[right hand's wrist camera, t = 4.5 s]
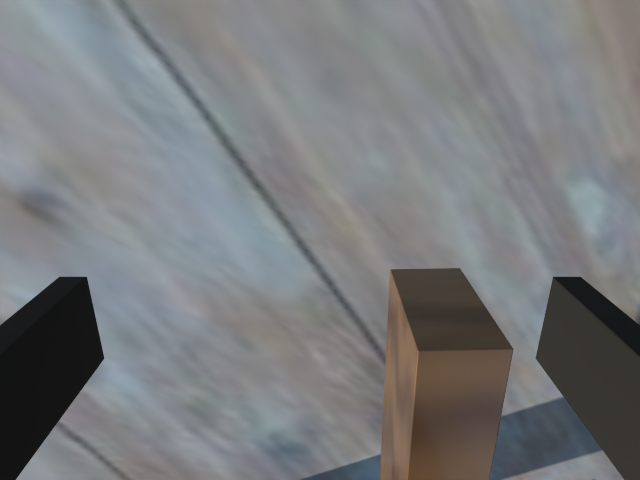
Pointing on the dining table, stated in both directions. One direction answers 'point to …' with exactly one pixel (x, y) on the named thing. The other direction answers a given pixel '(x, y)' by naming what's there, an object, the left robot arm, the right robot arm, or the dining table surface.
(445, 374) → the bar
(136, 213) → the dining table surface
